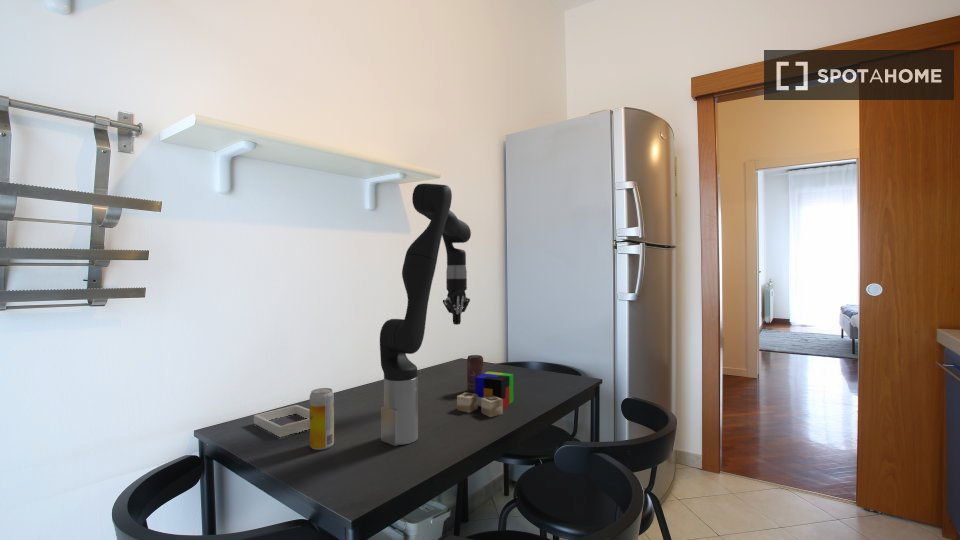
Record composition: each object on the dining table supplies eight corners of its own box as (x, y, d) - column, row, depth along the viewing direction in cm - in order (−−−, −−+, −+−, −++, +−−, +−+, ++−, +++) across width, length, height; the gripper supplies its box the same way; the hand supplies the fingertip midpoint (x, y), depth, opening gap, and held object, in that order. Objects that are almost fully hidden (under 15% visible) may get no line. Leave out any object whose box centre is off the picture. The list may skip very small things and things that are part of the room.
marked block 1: (469, 413, 145) (469, 397, 145) (457, 411, 147) (457, 395, 147) (477, 409, 149) (477, 393, 149) (465, 407, 152) (464, 391, 152)
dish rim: (279, 440, 122) (279, 427, 123) (253, 426, 133) (253, 415, 133) (324, 426, 133) (324, 415, 133) (297, 415, 144) (297, 404, 144)
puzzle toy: (475, 406, 153) (475, 377, 153) (488, 398, 161) (488, 371, 162) (501, 410, 148) (501, 380, 148) (513, 402, 157) (513, 374, 157)
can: (482, 394, 166) (482, 357, 166) (466, 394, 167) (465, 357, 167) (484, 390, 172) (484, 354, 172) (468, 390, 173) (468, 354, 173)
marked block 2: (490, 417, 141) (490, 401, 141) (481, 413, 145) (481, 397, 145) (502, 414, 143) (502, 398, 143) (493, 410, 147) (493, 395, 148)
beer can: (320, 441, 121) (320, 386, 121) (338, 444, 119) (338, 388, 119) (304, 449, 116) (304, 392, 116) (323, 453, 113) (322, 394, 114)
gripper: (451, 277, 156) (451, 326, 156) (475, 277, 166) (476, 323, 166) (436, 277, 161) (436, 325, 161) (461, 277, 171) (461, 322, 171)
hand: (456, 324), depth 164 cm, fingers closed
